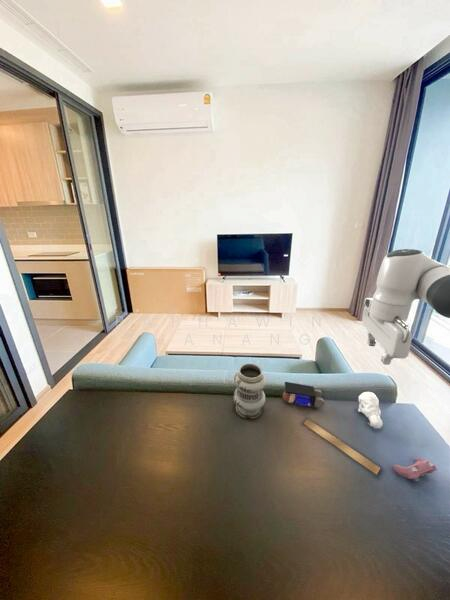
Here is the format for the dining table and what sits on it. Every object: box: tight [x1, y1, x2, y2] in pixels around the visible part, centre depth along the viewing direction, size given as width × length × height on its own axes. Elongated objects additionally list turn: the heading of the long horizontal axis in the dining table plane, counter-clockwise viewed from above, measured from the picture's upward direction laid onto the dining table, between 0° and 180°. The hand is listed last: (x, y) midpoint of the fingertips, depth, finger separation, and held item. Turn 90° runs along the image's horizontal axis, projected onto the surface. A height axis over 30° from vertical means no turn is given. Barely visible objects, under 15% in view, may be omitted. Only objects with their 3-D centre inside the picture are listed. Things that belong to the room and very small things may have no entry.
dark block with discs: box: [282, 381, 326, 409], centre depth 96 cm, size 7×8×15 cm
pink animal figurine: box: [393, 457, 438, 482], centre depth 70 cm, size 10×5×7 cm, turn 105°
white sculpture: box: [357, 391, 384, 430], centre depth 89 cm, size 6×8×12 cm
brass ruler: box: [303, 418, 381, 476], centre depth 80 cm, size 24×3×1 cm, turn 42°
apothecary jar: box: [232, 363, 267, 420], centre depth 91 cm, size 12×12×18 cm
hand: (377, 353), depth 71 cm, fingers open, 8 cm apart
